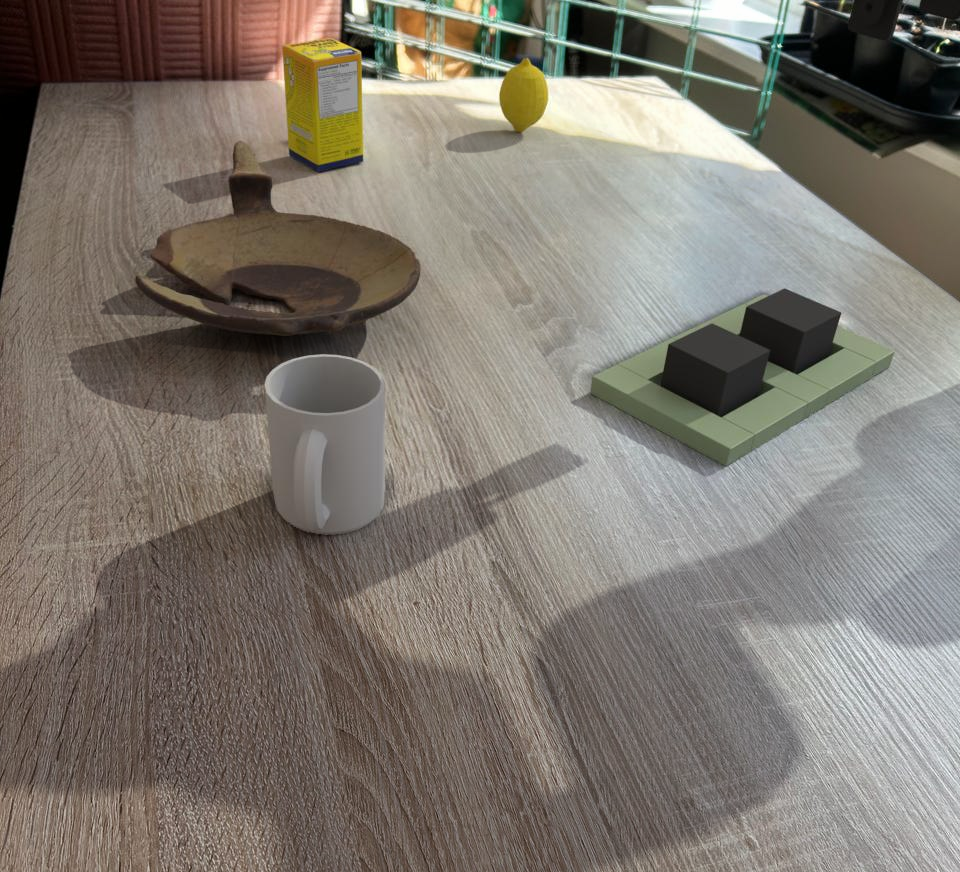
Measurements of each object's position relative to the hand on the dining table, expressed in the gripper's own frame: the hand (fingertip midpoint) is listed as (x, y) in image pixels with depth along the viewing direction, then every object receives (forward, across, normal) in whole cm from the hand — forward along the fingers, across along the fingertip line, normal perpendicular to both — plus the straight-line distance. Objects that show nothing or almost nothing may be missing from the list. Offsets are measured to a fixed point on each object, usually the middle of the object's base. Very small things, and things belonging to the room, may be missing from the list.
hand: (905, 24), depth 77 cm
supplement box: (+24, -7, +57) cm, 62 cm away
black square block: (+24, -5, 0) cm, 25 cm away
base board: (+24, -10, 0) cm, 26 cm away
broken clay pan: (+24, -30, +33) cm, 51 cm away
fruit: (+24, +17, +51) cm, 59 cm away
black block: (+24, -15, 0) cm, 29 cm away
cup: (+24, -47, +7) cm, 53 cm away
